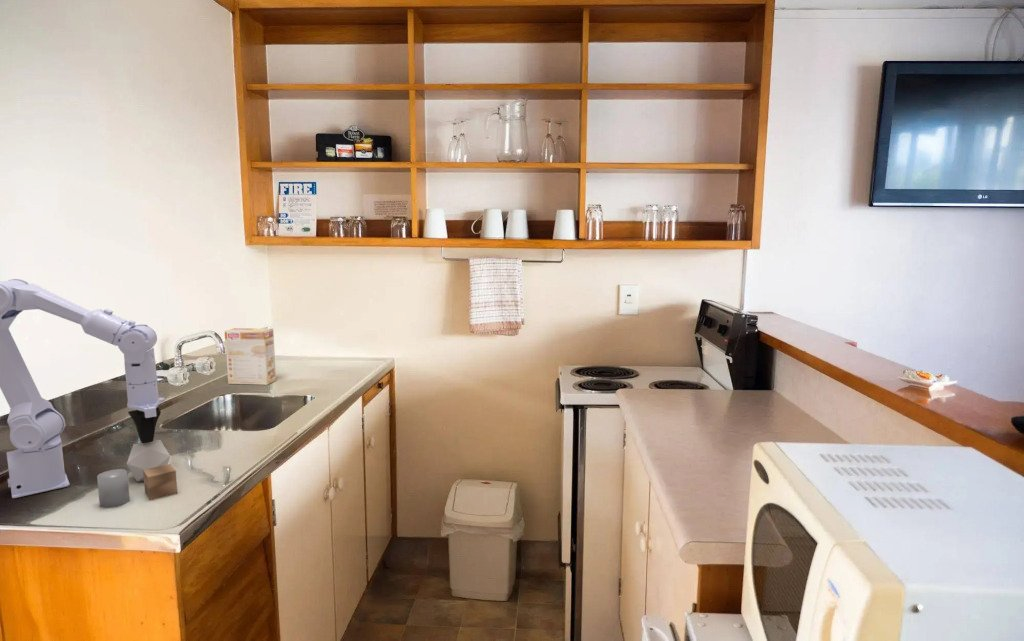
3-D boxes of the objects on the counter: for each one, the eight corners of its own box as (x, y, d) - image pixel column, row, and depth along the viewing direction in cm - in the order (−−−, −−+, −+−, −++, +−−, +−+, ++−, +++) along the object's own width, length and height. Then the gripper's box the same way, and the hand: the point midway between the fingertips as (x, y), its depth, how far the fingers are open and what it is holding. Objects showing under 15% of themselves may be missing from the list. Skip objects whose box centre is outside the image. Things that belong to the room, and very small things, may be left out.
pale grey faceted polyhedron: (173, 469, 140) (144, 438, 138) (185, 459, 134) (156, 426, 133) (141, 493, 133) (110, 461, 132) (153, 484, 128) (121, 450, 127)
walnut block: (149, 500, 122) (147, 477, 121) (145, 492, 126) (143, 469, 125) (177, 493, 125) (175, 470, 124) (171, 486, 129) (170, 463, 128)
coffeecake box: (276, 380, 222) (273, 328, 219) (267, 385, 214) (264, 331, 212) (238, 379, 223) (234, 327, 220) (227, 384, 216) (223, 330, 213)
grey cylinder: (102, 510, 117) (99, 481, 117) (98, 501, 121) (95, 473, 120) (131, 502, 121) (129, 474, 120) (127, 494, 124) (124, 467, 124)
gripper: (170, 384, 128) (175, 446, 130) (155, 373, 139) (160, 429, 140) (131, 390, 123) (137, 454, 125) (119, 377, 134) (124, 436, 136)
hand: (147, 441), depth 132 cm, fingers closed
